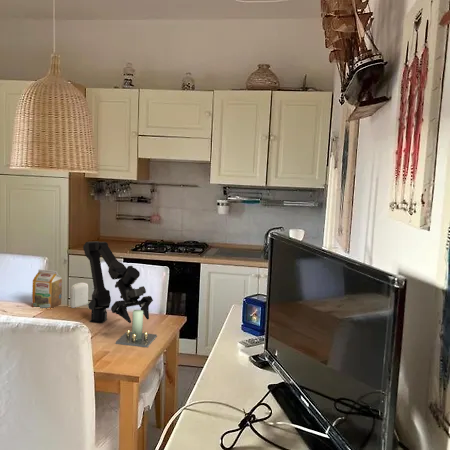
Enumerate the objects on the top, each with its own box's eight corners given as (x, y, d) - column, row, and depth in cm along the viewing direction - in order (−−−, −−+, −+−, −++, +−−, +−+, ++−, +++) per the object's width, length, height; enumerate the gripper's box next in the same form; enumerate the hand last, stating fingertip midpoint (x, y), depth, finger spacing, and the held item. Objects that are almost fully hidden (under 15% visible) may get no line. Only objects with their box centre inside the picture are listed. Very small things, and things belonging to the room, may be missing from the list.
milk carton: (61, 304, 255) (62, 269, 253) (50, 309, 245) (51, 273, 243) (43, 302, 257) (44, 267, 255) (32, 307, 246) (32, 271, 244)
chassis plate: (115, 343, 202) (115, 334, 202) (127, 333, 216) (127, 324, 216) (147, 347, 200) (147, 338, 200) (156, 336, 214) (157, 328, 214)
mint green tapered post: (132, 339, 205) (133, 312, 204) (131, 336, 210) (132, 309, 208) (142, 339, 207) (144, 312, 205) (141, 335, 211) (142, 309, 210)
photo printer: (74, 308, 249) (74, 285, 248) (68, 306, 251) (69, 283, 250) (89, 304, 258) (89, 282, 256) (83, 302, 260) (84, 280, 259)
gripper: (115, 283, 202) (129, 314, 195) (151, 278, 215) (165, 308, 208) (105, 297, 208) (117, 328, 202) (140, 291, 221) (153, 320, 215)
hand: (139, 320), depth 206 cm, fingers open, 9 cm apart
